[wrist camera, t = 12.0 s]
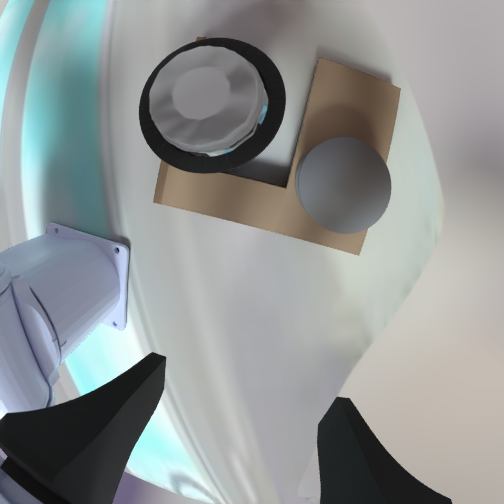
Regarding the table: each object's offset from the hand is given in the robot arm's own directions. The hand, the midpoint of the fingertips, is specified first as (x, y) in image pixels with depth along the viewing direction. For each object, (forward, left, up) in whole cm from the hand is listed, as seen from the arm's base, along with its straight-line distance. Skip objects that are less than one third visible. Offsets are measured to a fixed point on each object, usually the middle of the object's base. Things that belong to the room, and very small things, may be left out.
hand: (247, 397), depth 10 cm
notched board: (-1, +11, -10) cm, 15 cm away
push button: (-4, +11, -11) cm, 16 cm away
